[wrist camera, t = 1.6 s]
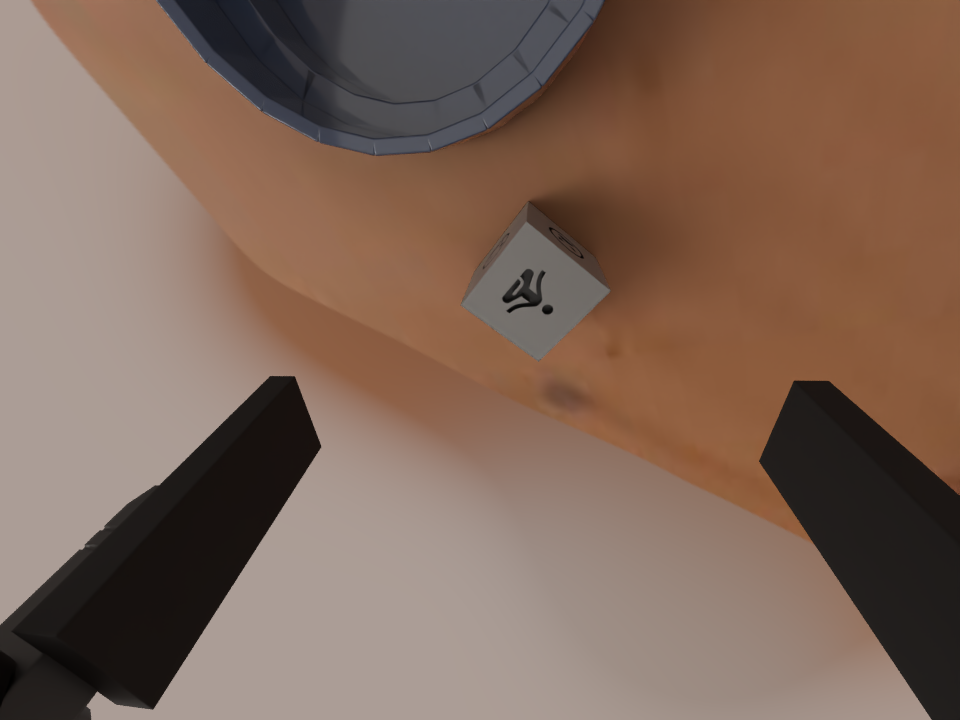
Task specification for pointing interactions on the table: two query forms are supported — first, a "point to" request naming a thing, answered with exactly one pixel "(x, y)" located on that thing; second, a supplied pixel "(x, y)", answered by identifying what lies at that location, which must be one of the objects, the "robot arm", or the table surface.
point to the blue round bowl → (387, 63)
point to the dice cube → (535, 284)
